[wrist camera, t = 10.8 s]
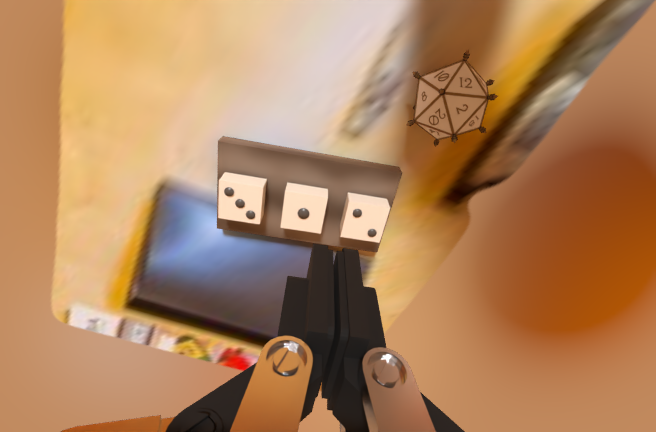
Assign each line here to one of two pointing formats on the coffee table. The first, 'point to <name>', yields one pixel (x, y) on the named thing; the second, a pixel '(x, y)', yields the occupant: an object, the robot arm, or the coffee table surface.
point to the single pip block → (304, 207)
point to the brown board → (308, 171)
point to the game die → (451, 100)
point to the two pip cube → (364, 217)
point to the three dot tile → (241, 198)
